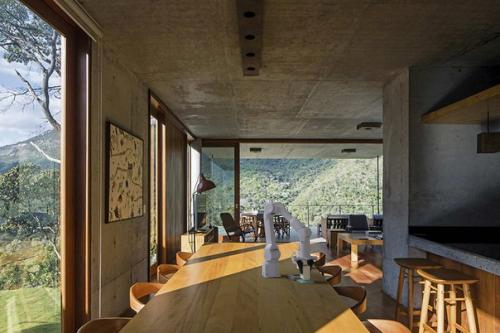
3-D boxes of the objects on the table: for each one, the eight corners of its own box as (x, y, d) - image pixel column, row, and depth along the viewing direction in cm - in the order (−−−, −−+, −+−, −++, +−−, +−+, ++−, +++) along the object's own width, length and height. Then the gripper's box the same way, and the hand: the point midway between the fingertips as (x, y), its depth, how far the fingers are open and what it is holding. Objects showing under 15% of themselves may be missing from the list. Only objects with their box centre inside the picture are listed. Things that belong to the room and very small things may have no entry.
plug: (303, 279, 217) (303, 265, 217) (300, 277, 220) (300, 264, 221) (310, 278, 218) (309, 265, 218) (307, 277, 222) (306, 263, 222)
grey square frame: (292, 280, 222) (292, 277, 222) (287, 276, 231) (287, 274, 231) (307, 279, 225) (307, 276, 225) (301, 275, 233) (301, 273, 233)
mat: (302, 283, 214) (302, 282, 215) (297, 280, 221) (297, 279, 221) (313, 282, 216) (313, 281, 216) (308, 279, 223) (308, 278, 223)
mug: (307, 267, 257) (306, 249, 258) (306, 269, 251) (306, 250, 251) (291, 266, 259) (291, 248, 260) (290, 269, 253) (290, 250, 253)
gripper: (295, 250, 214) (296, 276, 213) (319, 249, 218) (320, 274, 217) (290, 248, 221) (291, 273, 220) (314, 247, 225) (314, 271, 224)
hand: (305, 273), depth 219 cm, fingers open, 4 cm apart
